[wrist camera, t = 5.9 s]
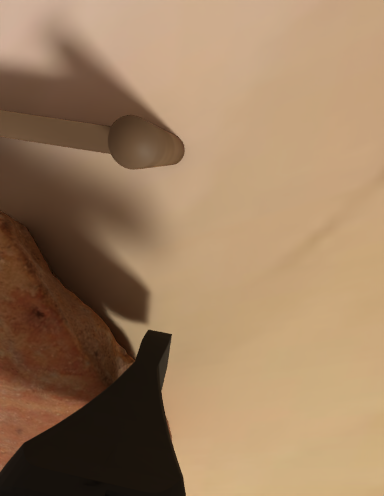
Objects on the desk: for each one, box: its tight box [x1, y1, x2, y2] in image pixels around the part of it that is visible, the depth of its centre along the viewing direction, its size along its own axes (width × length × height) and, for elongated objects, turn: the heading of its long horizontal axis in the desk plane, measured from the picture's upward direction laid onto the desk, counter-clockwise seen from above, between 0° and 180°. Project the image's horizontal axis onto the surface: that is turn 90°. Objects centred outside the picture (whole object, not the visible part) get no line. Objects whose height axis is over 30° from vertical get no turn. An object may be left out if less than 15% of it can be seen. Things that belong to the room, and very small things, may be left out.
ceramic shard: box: [0, 211, 172, 472], centre depth 13 cm, size 15×6×15 cm
